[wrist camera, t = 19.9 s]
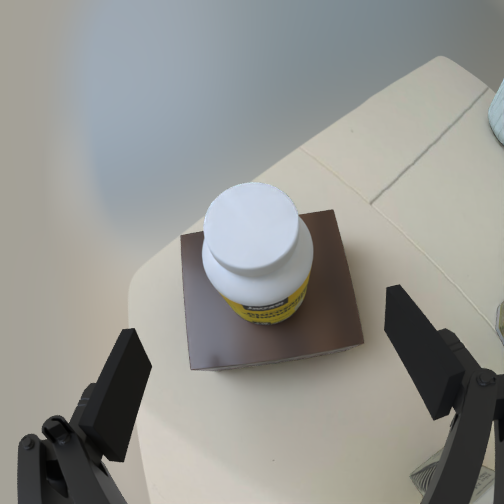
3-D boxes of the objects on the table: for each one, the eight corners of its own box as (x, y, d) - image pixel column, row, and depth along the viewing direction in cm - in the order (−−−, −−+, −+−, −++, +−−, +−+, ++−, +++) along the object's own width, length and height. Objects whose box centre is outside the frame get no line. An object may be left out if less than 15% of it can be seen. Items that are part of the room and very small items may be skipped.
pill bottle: (233, 333, 25) (190, 301, 14) (222, 258, 27) (179, 182, 16) (314, 317, 25) (333, 272, 14) (297, 243, 27) (299, 157, 16)
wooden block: (213, 371, 31) (190, 370, 24) (202, 264, 36) (180, 235, 29) (346, 350, 31) (364, 343, 23) (325, 243, 35) (333, 209, 28)
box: (442, 445, 25) (507, 469, 13) (457, 469, 23) (519, 497, 11) (405, 476, 24) (457, 517, 12) (421, 499, 23) (472, 542, 11)
